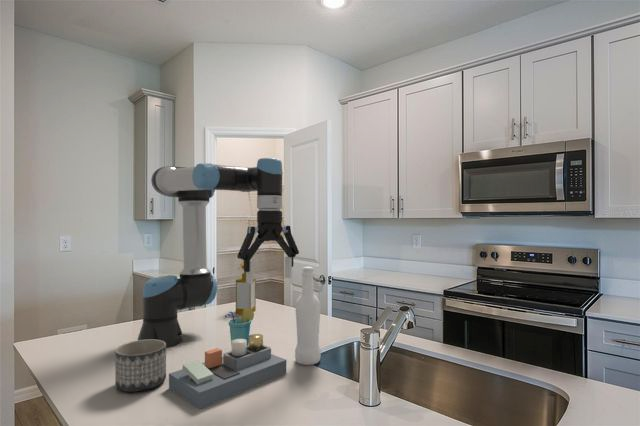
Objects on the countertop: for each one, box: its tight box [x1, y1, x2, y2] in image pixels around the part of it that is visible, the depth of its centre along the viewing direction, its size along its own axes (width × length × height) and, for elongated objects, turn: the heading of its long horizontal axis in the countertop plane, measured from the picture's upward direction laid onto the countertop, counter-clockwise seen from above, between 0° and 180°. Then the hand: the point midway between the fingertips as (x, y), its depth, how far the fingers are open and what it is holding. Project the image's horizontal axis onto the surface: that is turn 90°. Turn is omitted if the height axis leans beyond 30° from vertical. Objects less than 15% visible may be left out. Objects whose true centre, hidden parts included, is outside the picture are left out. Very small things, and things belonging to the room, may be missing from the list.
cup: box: [224, 308, 255, 348], centre depth 129 cm, size 14×8×15 cm, turn 156°
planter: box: [114, 339, 167, 392], centre depth 106 cm, size 13×13×10 cm
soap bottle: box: [235, 262, 257, 315], centre depth 179 cm, size 7×13×24 cm, turn 170°
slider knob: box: [204, 347, 223, 368], centre depth 108 cm, size 2×4×4 cm, turn 137°
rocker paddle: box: [181, 359, 214, 384], centre depth 101 cm, size 8×4×1 cm, turn 47°
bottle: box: [294, 266, 322, 366], centre depth 122 cm, size 8×8×30 cm
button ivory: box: [231, 339, 247, 356], centre depth 110 cm, size 4×4×4 cm
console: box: [168, 344, 287, 410], centre depth 108 cm, size 16×28×7 cm, turn 137°
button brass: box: [248, 333, 264, 350], centre depth 115 cm, size 4×4×4 cm
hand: (269, 280), depth 116 cm, fingers open, 13 cm apart
